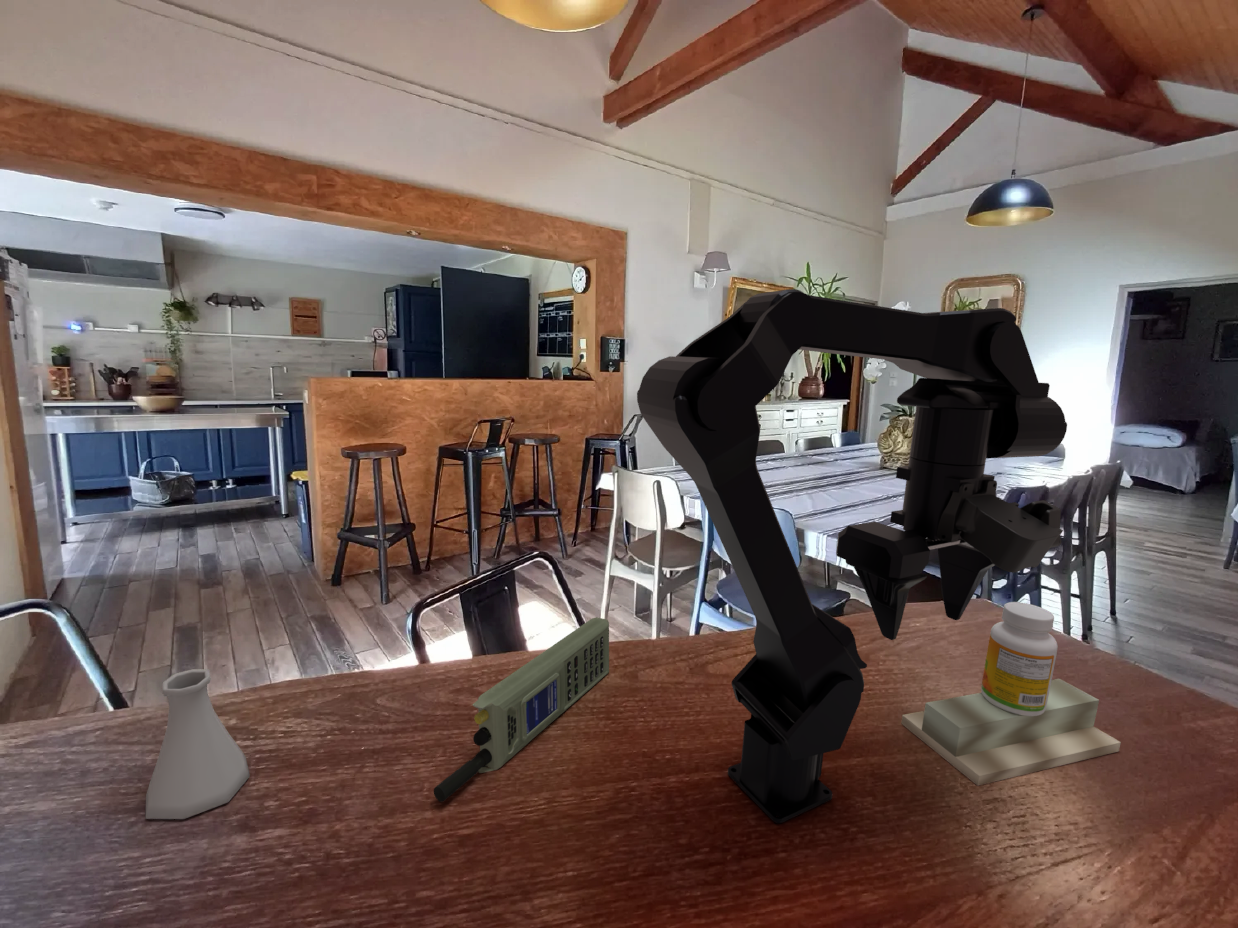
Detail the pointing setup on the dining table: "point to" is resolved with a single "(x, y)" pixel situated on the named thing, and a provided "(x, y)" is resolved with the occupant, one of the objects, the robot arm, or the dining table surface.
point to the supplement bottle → (1020, 660)
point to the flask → (193, 753)
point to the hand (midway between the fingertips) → (922, 627)
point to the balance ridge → (1011, 734)
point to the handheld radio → (533, 699)
